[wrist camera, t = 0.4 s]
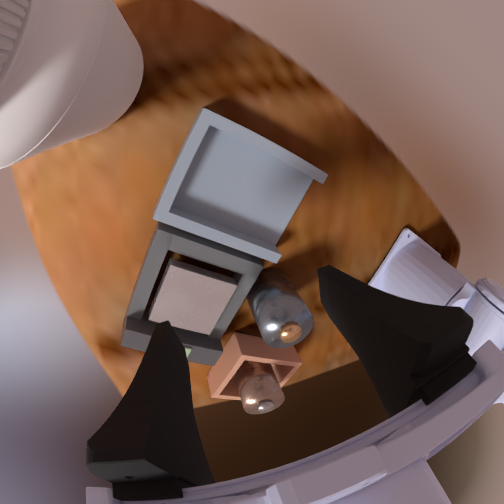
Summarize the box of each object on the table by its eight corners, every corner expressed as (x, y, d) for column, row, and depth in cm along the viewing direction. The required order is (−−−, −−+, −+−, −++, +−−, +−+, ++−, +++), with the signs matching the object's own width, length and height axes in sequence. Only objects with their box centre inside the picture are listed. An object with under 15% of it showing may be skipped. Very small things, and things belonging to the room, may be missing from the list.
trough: (316, 168, 21) (328, 174, 19) (268, 251, 23) (276, 263, 21) (201, 108, 16) (203, 108, 15) (154, 209, 19) (152, 218, 17)
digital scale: (158, 220, 19) (156, 239, 17) (258, 256, 23) (270, 278, 20) (123, 321, 23) (120, 347, 20) (209, 342, 26) (214, 367, 23)
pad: (170, 257, 20) (170, 264, 19) (234, 278, 22) (237, 285, 21) (148, 311, 21) (148, 319, 20) (207, 326, 23) (209, 334, 23)
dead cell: (275, 353, 29) (294, 397, 24) (257, 375, 30) (272, 419, 25) (242, 347, 27) (258, 396, 22) (225, 371, 28) (238, 418, 23)
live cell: (296, 275, 25) (326, 319, 20) (274, 309, 26) (297, 356, 21) (258, 262, 23) (283, 308, 18) (236, 300, 25) (255, 350, 20)
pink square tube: (292, 342, 29) (302, 362, 27) (260, 382, 32) (268, 401, 29) (234, 331, 26) (241, 354, 24) (206, 375, 29) (211, 397, 26)
